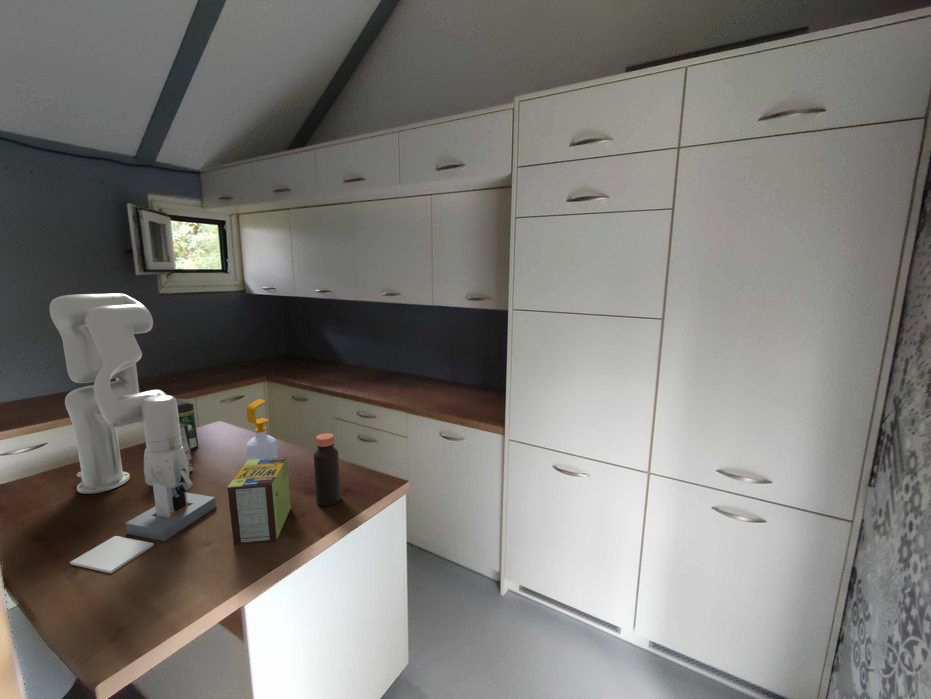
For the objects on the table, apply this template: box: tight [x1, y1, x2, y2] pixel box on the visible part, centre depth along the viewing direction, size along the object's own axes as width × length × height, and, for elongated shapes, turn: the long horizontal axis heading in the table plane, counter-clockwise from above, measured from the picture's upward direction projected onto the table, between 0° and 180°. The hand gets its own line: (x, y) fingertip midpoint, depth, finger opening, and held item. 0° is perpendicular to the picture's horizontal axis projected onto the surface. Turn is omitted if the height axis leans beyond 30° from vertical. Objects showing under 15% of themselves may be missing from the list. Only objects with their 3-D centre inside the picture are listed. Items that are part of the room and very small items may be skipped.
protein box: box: [227, 457, 292, 545], centre depth 110 cm, size 10×15×16 cm
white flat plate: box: [69, 535, 155, 574], centre depth 99 cm, size 12×10×1 cm
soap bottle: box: [246, 398, 279, 460], centre depth 139 cm, size 9×9×25 cm
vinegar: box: [313, 432, 341, 507], centre depth 122 cm, size 7×7×20 cm
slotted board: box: [124, 492, 217, 542], centre depth 113 cm, size 12×16×3 cm
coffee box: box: [180, 424, 194, 473], centre depth 139 cm, size 9×6×16 cm
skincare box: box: [152, 483, 188, 519], centre depth 112 cm, size 6×4×12 cm
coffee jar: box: [175, 398, 199, 450], centre depth 158 cm, size 10×8×19 cm
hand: (172, 506), depth 113 cm, fingers closed on skincare box, 4 cm apart
